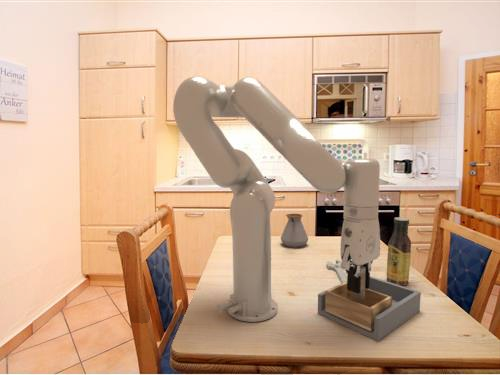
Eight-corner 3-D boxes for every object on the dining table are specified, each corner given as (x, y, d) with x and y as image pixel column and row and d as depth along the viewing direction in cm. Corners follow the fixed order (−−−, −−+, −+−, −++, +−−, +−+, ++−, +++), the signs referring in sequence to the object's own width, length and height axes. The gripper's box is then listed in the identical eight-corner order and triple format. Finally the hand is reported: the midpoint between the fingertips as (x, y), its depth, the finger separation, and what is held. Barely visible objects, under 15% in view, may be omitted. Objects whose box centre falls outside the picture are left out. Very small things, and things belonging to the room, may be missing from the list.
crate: (370, 331, 72) (372, 279, 71) (325, 310, 81) (326, 264, 80) (391, 317, 78) (393, 269, 77) (346, 299, 87) (347, 256, 86)
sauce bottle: (382, 278, 104) (385, 216, 102) (401, 278, 104) (404, 215, 102) (392, 287, 98) (395, 220, 95) (413, 286, 98) (417, 220, 96)
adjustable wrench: (357, 296, 93) (357, 290, 93) (333, 295, 94) (333, 289, 94) (343, 264, 118) (343, 259, 118) (325, 264, 119) (325, 259, 118)
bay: (378, 341, 71) (379, 319, 70) (317, 313, 83) (318, 294, 82) (419, 311, 84) (420, 291, 83) (362, 290, 96) (362, 273, 95)
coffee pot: (282, 240, 147) (282, 207, 146) (308, 241, 145) (309, 207, 143) (276, 256, 127) (276, 217, 125) (306, 257, 124) (307, 218, 123)
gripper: (355, 220, 69) (352, 305, 71) (393, 210, 79) (390, 284, 81) (325, 215, 74) (323, 293, 77) (365, 206, 85) (362, 275, 87)
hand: (358, 288), depth 79 cm, fingers closed on crate, 3 cm apart
